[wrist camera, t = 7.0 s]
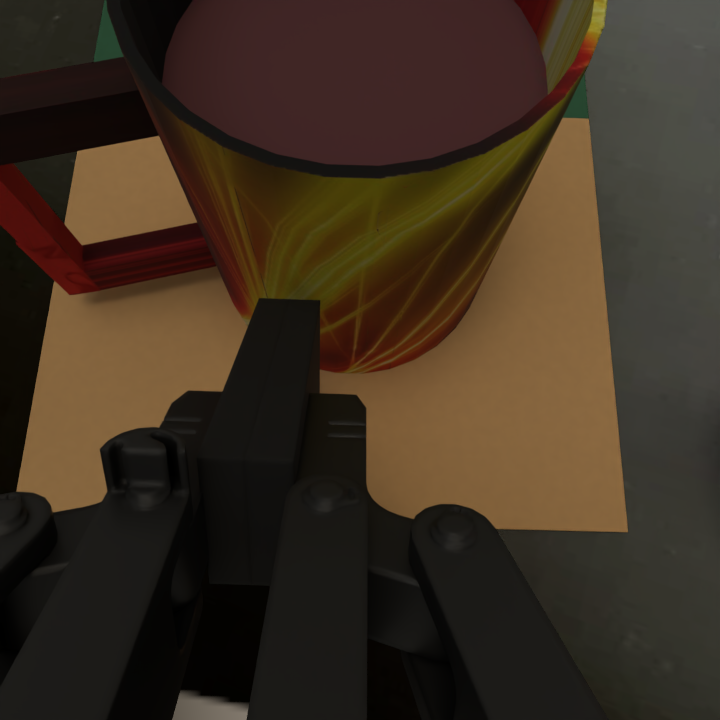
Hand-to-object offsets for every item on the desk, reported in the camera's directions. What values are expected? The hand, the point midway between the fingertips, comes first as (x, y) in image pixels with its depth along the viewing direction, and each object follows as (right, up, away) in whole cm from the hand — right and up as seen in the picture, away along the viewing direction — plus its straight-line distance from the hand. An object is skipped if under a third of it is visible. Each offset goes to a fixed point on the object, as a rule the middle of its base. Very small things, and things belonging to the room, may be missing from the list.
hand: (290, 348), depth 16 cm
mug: (0, +2, +7) cm, 8 cm away
